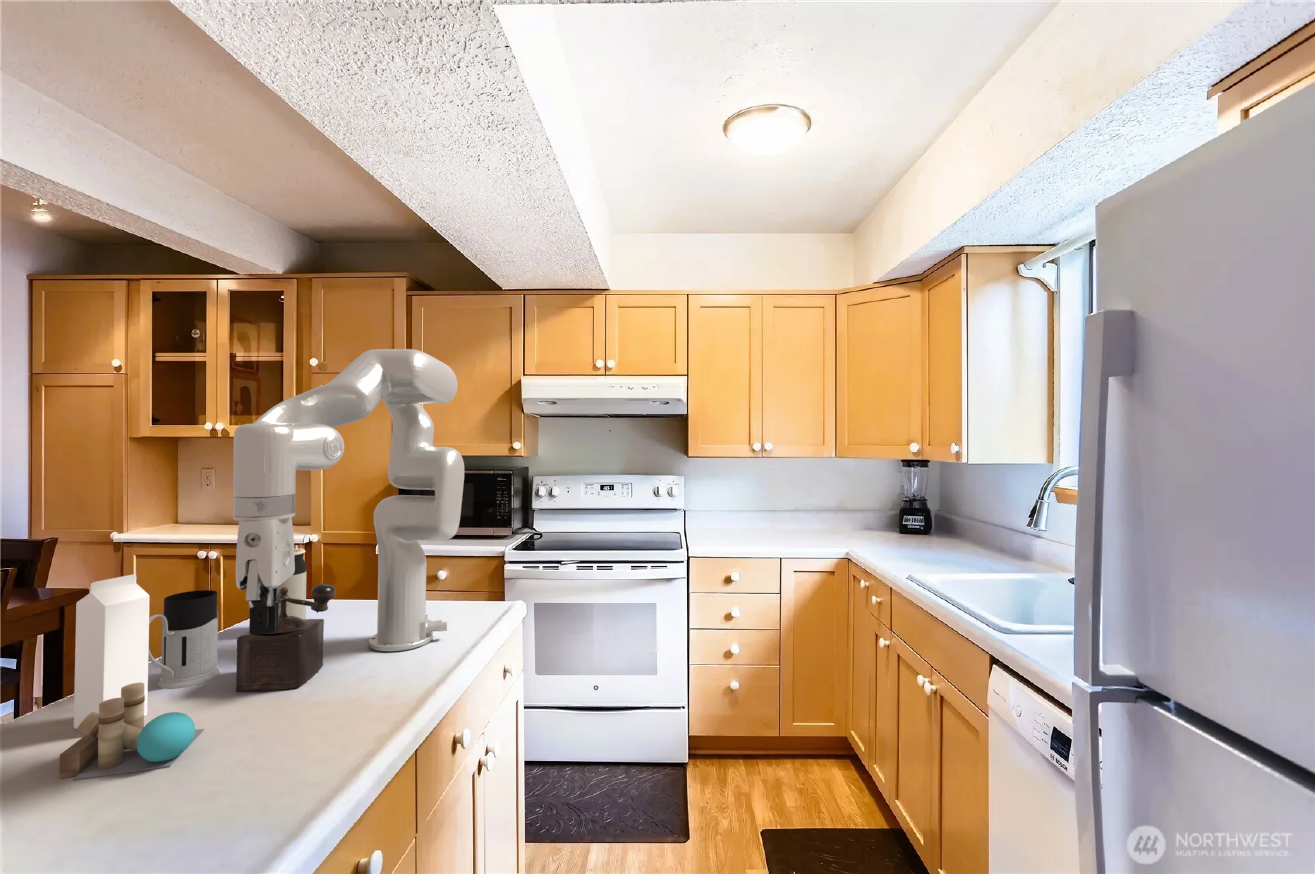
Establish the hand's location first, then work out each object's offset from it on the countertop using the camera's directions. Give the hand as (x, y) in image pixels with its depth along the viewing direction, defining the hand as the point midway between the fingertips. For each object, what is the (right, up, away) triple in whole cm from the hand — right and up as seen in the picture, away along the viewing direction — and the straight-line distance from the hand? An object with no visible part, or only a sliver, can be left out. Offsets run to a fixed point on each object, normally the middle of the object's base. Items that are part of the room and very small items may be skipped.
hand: (264, 631), depth 83 cm
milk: (-26, -15, +3) cm, 30 cm away
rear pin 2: (-16, -15, -4) cm, 22 cm away
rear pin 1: (-15, -15, -8) cm, 23 cm away
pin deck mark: (-13, -15, -5) cm, 21 cm away
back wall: (-19, -15, -6) cm, 25 cm away
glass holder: (-27, -15, +17) cm, 35 cm away
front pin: (-12, -14, -5) cm, 19 cm away
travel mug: (-27, -16, +45) cm, 55 cm away
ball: (-9, -12, -6) cm, 16 cm away
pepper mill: (-8, -16, +20) cm, 26 cm away
